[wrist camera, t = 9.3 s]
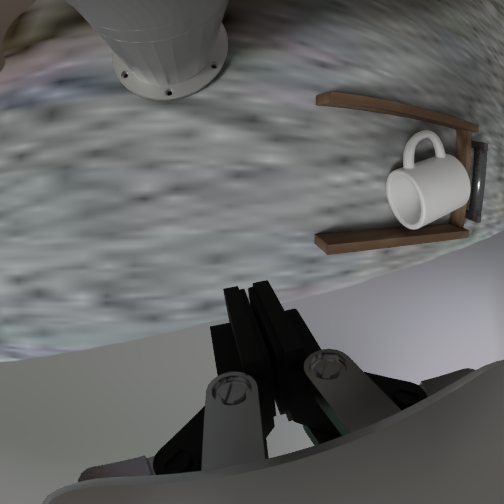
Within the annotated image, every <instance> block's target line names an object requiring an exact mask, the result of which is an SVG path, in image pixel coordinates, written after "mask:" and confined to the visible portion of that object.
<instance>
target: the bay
mask: <svg viewBox="0 0 504 504" xmlns="http://www.w3.org/2000/svg"><path fill="white" fill-rule="evenodd" d="M316 105H318V106H330V107H340V108H349V109H357V110H364V111H371V112H378V113H384V114H390V115H396V116H401V117H406V118H411V119H416V120H421V121H425V122H430V123H434V124H438V125H442V126H446V127H450V128H454V129H457V138H456V158H457V159H458V160H459V161H460V162H461V163H462V165H463V166H464V168H465V169H466V171H467V174H468V176H469V178H470V165H471V148H474V164H473V177H472V188H471V197H470V205H469V210H466V206H467V203H466V204H465V205H464V206H462V207H460V208H458V209H456V210H454V211H452V212H451V215H450V221H449V224H436V225H425V226H423V227H421V228H419V229H415V230H413V229H409V228H407V227H397V228H384V229H372V230H360V231H348V232H336V233H324V234H315V244H316V245H317V246H318V247H319V248H320V249H322V250H323V251H324V252H325V253H326V254H327V255H331V254H339V253H348V252H356V251H365V250H373V249H381V248H390V247H398V246H406V245H414V244H422V243H430V242H438V241H445V240H453V239H461V238H468V235H469V230H467V229H465V228H463V226H464V220H465V218H467V219H469V220H472V221H474V222H476V223H480V222H481V211H482V204H483V196H484V187H485V176H486V162H487V151H488V144H487V143H483V142H477V141H471V140H472V132H478V125H477V124H474V123H471V122H468V121H465V120H462V119H459V118H455V117H452V116H449V115H446V114H442V113H439V112H435V111H431V110H428V109H424V108H420V107H416V106H411V105H407V104H403V103H398V102H393V101H388V100H383V99H378V98H372V97H367V96H360V95H354V94H347V93H339V92H327V93H324V94H320V95H317V96H316Z"/></svg>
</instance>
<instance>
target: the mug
mask: <svg viewBox="0 0 504 504" xmlns="http://www.w3.org/2000/svg"><path fill="white" fill-rule="evenodd" d="M424 138H429V139H430V140H431V141H432V143H433V146H434V150H435V155H436V156H434V157H431V158H428V159H425V160H422V161H420V162H417V163H414V153H415V148H416V146H417V144H418V143H419V141H421V140H422V139H424ZM470 191H471V186H470V180H469V176H468V174H467V171H466V169H465V168H464V166H463V165H462V163H461V162H460V161H459V160H458V159H457V158H455V157H454V156H452V155H449V154H445V151H444V147H443V144H442V142H441V140H440V138H439V137H438V136H437V135H436V134H435V133H434V132H432V131H430V130H423V131H420V132H417V133H415V134H414V135H413V136H412V137H411V138H410V139H409V140H408V142H407V143H406V145H405V148H404V153H403V167H402V168H399V169H396V170H394V171H392V172H391V173H390V174H389V176H388V178H387V182H386V192H387V198H388V201H389V204H390V207H391V209H392V211H393V213H394V215H395V216H396V218H397V219H398V220H399V221H400V222H401V223H402V224H403V225H404V226H405V227H407V228H409V229H413V230H415V229H419V228H421V227H423V226H425V225H427V224H429V223H431V222H433V221H435V220H437V219H439V218H441V217H443V216H445V215H447V214H449V213H451V212H452V211H454V210H456V209H458V208H460V207H462V206H464V205H465V204H466V203H467V201H468V199H469V197H470Z"/></svg>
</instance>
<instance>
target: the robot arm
mask: <svg viewBox="0 0 504 504" xmlns="http://www.w3.org/2000/svg"><path fill="white" fill-rule="evenodd" d="M66 1H67V2H68V3H69V4H71V5H72V6H73V7H74V8H75V9H76V10H77V11H78V12H79V13H80V14H81V15H82V16H83V17H84V18H85V19H86V20H87V21H88V22H89V23H90V25H91V26H92V27H93V28H94V29H95V31H96V32H97V33H98V34H99V35H100V36H101V37H102V38H103V40H104V41H105V42H106V43H107V44H108V45H109V46H110V48H111V49H112V50H113V52H112V62H113V67H114V70H115V73H116V75H117V77H118V78H119V80H120V82H121V83H122V84H123V85H124V86H125V87H126V88H127V89H129V90H130V91H131V92H133V93H135V94H136V95H138V96H140V97H143V98H146V99H150V100H157V101H170V100H177V99H181V98H185V97H187V96H190V95H192V94H195V93H196V92H198V91H199V90H201V89H203V88H204V87H205V86H207V85H208V84H209V83H210V82H211V81H212V80H213V79H214V78H215V77H216V76H217V74H218V73H219V72H220V70H221V68H222V66H223V64H224V62H225V59H226V57H227V52H228V36H227V32H226V29H225V27H224V25H223V23H222V19H223V16H224V13H225V10H226V7H227V4H228V1H229V0H66ZM212 66H216V69H212ZM126 74H128V77H127V78H124V76H125V75H126ZM168 92H172V95H170V96H169V95H167V93H168ZM223 290H224V296H225V301H226V306H227V312H228V317H229V322H230V323H226V324H221V325H216V326H210V330H211V337H212V343H213V349H214V356H215V362H216V368H217V374H218V376H217V377H216V378H214V379H213V380H212V381H211V382H210V384H209V385H208V387H207V390H206V402H205V406H204V407H203V408H202V409H201V410H200V411H199V412H198V414H196V415H195V416H194V417H193V418H192V419H191V420H190V421H189V422H188V423H187V424H186V425H185V426H184V427H183V428H182V429H181V430H180V431H179V432H178V433H177V434H176V435H175V436H174V437H173V438H172V439H171V440H170V441H168V442H167V443H166V445H164V446H163V447H162V448H161V449H160V450H159V451H158V452H157V454H156V455H155V456H153V457H150V458H147V457H146V456H141V457H138V458H134V459H129V460H125V461H120V462H116V463H110V464H105V465H101V466H94V467H91V468H88V469H86V470H85V471H83V472H82V473H81V475H80V477H79V479H78V482H77V483H73V484H70V485H67V486H64V487H62V488H60V489H57V490H56V491H54V492H52V493H51V494H50V495H48V496H47V498H46V499H45V500H44V501H43V504H504V360H501V361H496V362H494V363H491V364H488V365H486V366H483V367H481V368H479V369H477V370H474V369H469V368H467V369H461V370H458V371H455V372H452V373H449V374H446V375H442V376H439V377H435V378H432V379H428V380H424V381H421V383H420V385H417V384H414V383H411V382H407V381H402V380H398V379H393V378H388V377H384V376H380V375H375V374H371V373H367V372H363V371H362V370H361V369H360V368H359V367H358V366H357V365H356V364H355V363H354V362H353V360H351V358H350V357H349V356H347V355H346V354H345V353H343V352H341V351H338V350H333V349H323V350H321V348H320V347H319V345H318V343H317V342H316V340H315V338H314V337H313V335H312V334H311V332H310V330H309V329H308V327H307V325H306V324H305V322H304V321H303V319H302V317H301V316H300V314H299V312H298V311H297V310H296V309H291V310H286V311H284V309H283V307H282V306H281V304H280V302H279V300H278V298H277V296H276V294H275V293H274V291H273V289H272V287H271V285H270V284H269V282H268V280H266V281H261V282H256V283H253V287H250V288H248V292H249V299H250V303H249V300H248V298H247V295H246V292H245V290H244V289H240V290H239V288H238V286H236V287H231V288H226V289H223ZM274 399H275V400H274ZM275 401H276V404H277V407H278V410H279V412H280V414H281V415H282V414H286V415H287V418H288V420H289V421H291V420H293V421H294V422H297V423H299V424H302V425H303V428H304V430H305V432H306V433H307V435H308V436H309V438H310V439H311V441H312V442H313V444H314V445H315V446H313V447H309V448H306V449H303V450H299V451H296V452H292V453H288V454H285V455H281V456H277V457H273V458H268V449H267V440H266V437H267V436H268V435H269V433H270V432H271V431H272V429H273V428H274V416H276V409H275Z"/></svg>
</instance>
